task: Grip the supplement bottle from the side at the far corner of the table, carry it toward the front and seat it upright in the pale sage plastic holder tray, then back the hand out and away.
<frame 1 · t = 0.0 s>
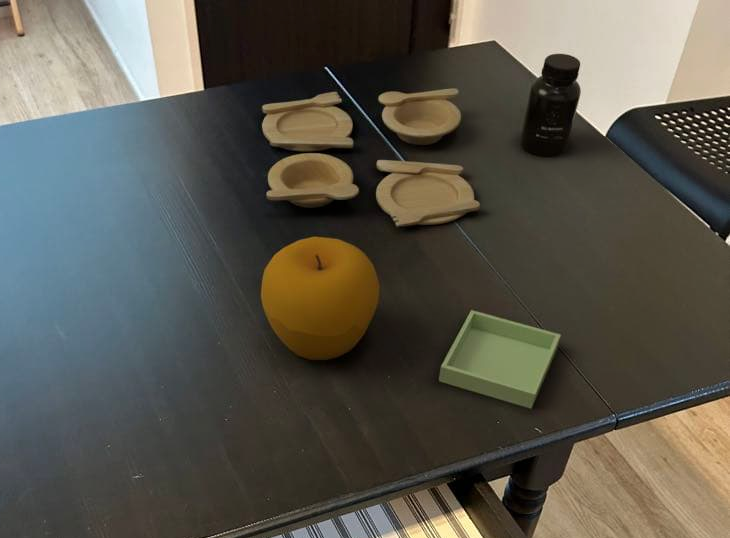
apple: (321, 341, 95), on the table
supplement bottle: (542, 149, 120), on the table
tableware set: (364, 166, 118), on the table
holder: (498, 367, 92), on the table
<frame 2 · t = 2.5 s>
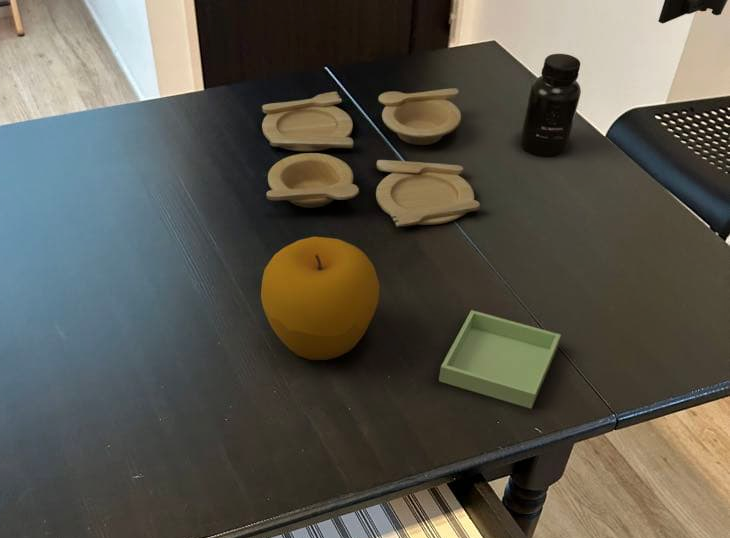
nothing on the table moved.
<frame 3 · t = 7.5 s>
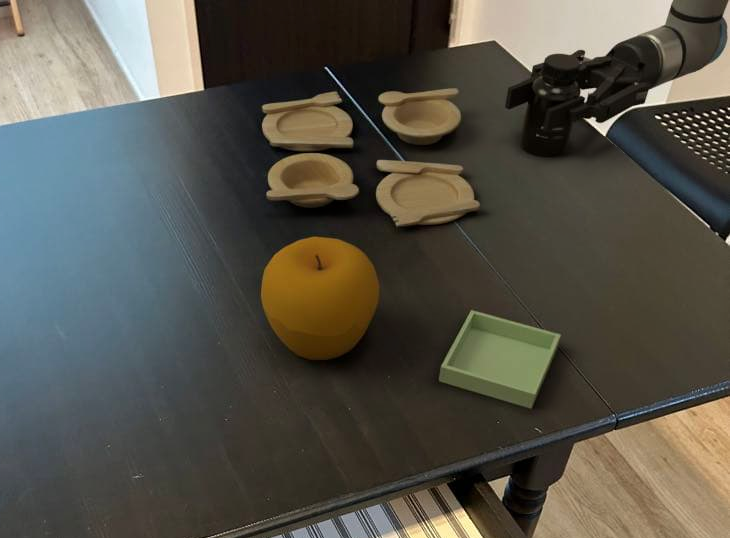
hand: (527, 109, 113), 7 cm above the table, tool horizontal, fingers closed on supplement bottle, 7 cm apart
supplement bottle: (542, 149, 120), on the table, touching gripper
everything else where it was.
when the fingers open (8 cm above the table, at t = 19.2 s): supplement bottle stays where it is, resting on holder.
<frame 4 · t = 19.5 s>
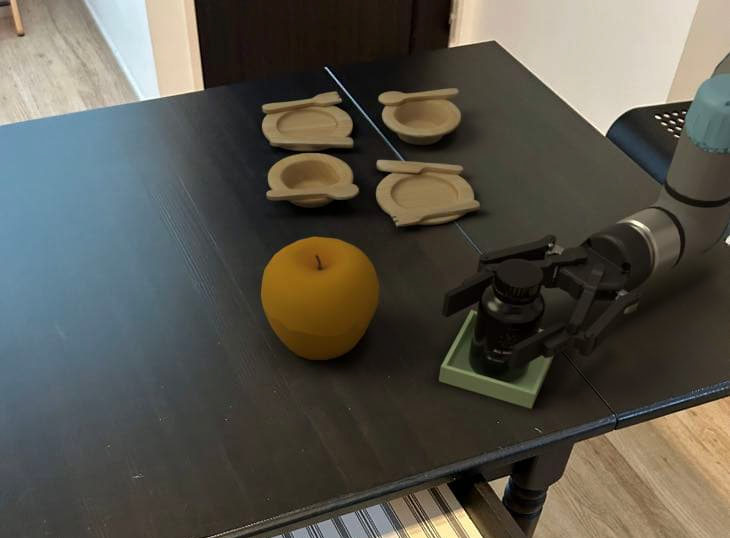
hand: (478, 331, 85), 7 cm above the table, tool horizontal, fingers open, 10 cm apart
supplement bottle: (498, 365, 92), resting on holder
everything else where it was.
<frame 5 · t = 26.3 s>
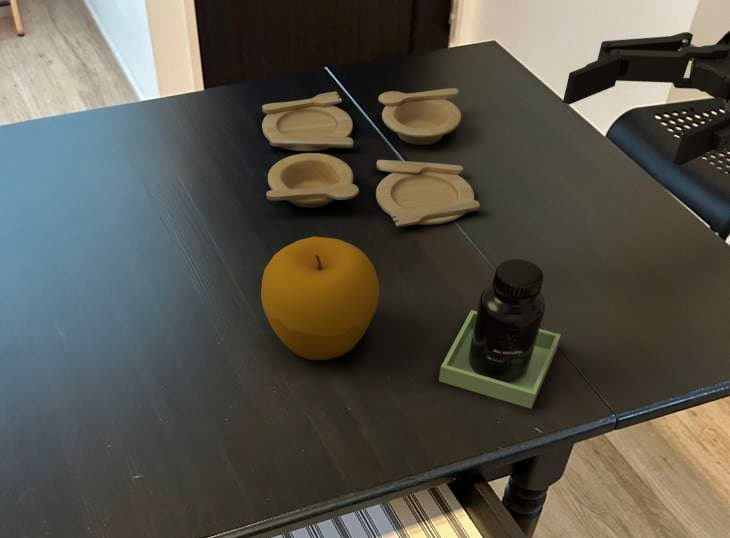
hand: (622, 118, 76), 25 cm above the table, tool horizontal, fingers open, 13 cm apart
nothing on the table moved.
at the end: supplement bottle 0.0 cm off-centre in the holder, point 0.3 cm above the holder's base; supplement bottle tilted 0°; the gripper is holding nothing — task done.
